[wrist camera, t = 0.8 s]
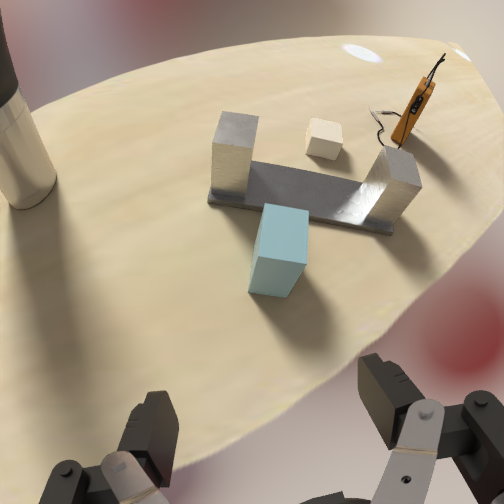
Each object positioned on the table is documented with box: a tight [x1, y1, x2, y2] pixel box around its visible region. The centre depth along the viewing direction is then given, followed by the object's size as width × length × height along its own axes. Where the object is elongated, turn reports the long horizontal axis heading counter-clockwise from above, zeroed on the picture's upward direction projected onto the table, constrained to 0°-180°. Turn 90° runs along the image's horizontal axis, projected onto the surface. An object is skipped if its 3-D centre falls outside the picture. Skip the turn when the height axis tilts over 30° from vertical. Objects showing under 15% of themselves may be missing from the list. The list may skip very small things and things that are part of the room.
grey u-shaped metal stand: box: [208, 111, 422, 236], centre depth 40 cm, size 26×8×10 cm, turn 83°
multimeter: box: [368, 53, 446, 149], centre depth 47 cm, size 15×10×20 cm
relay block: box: [306, 117, 343, 161], centre depth 48 cm, size 5×5×4 cm
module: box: [248, 203, 309, 298], centre depth 35 cm, size 4×6×9 cm
